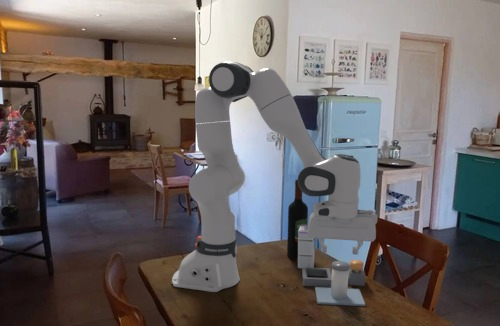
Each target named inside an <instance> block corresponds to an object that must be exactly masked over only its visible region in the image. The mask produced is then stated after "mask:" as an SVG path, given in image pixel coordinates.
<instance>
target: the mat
mask: <svg viewBox="0 0 500 326" xmlns="http://www.w3.org/2000/svg"><path fill="white" fill-rule="evenodd" d="M314 290H315V297H316V302H317V304H318V305H332V306H333V305H334V306H353V307H354V306H356V307H366V302H365V300H364V298H363V294H362V293H361V289H360V288H348V290H347V298H345V299H337V298H334V297H332V296H331V287H317V286H314Z"/></svg>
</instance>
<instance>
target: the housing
mask: <svg viewBox="0 0 500 326" xmlns="http://www.w3.org/2000/svg"><path fill="white" fill-rule="evenodd" d="M330 269H331V268H329V267H328V268H326V267H314V268H309V267H302V269H301V278H302V286H303V287H305V286H306V287H324V288H331V280H332V271H331V270H330ZM308 276H309V277H308ZM365 283H366V272H365V269H363V270H360V271H359V272H354V270H352V269H349V275H348V286H363V287H364V286H365V285H366V284H365Z"/></svg>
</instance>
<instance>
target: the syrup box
mask: <svg viewBox="0 0 500 326" xmlns="http://www.w3.org/2000/svg"><path fill="white" fill-rule="evenodd" d="M307 228H308V225H307V226H300V227H299V230H298V259H297V268H298V269H301V270H302V267H309V268H315V267H314V266H315V247H316V246H315V245H316V241H315V239H316V238H310V237H309V236H308V234H307Z"/></svg>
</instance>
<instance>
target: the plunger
mask: <svg viewBox="0 0 500 326" xmlns="http://www.w3.org/2000/svg"><path fill="white" fill-rule="evenodd" d="M349 265H350V269H352V270H354V272H359V271H360V270H364V261H362V260H360V259H359V260H358V259H351V260H350V261H349Z"/></svg>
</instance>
